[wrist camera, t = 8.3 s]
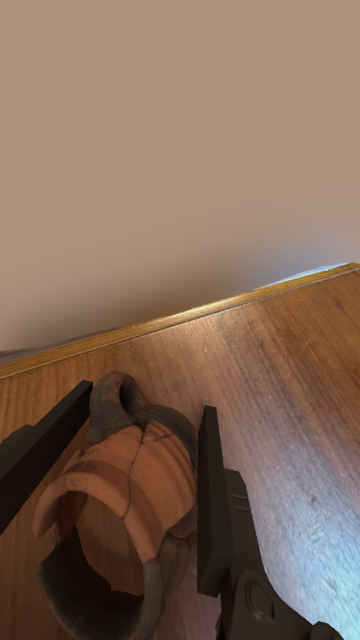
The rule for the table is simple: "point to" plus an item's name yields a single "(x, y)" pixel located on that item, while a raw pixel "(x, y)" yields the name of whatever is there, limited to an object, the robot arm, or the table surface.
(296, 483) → the table surface
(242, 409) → the table surface
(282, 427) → the table surface
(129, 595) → the pottery mug
